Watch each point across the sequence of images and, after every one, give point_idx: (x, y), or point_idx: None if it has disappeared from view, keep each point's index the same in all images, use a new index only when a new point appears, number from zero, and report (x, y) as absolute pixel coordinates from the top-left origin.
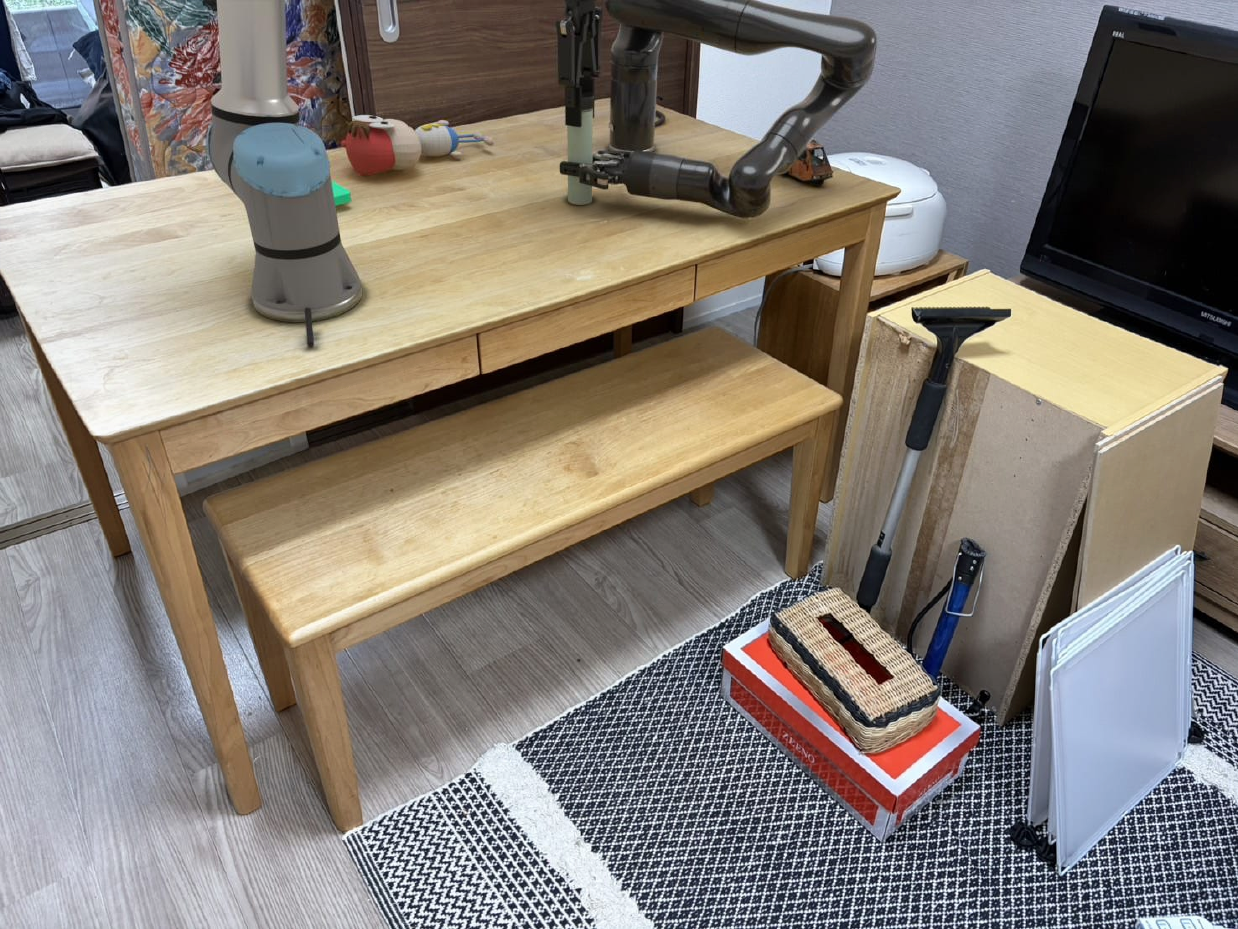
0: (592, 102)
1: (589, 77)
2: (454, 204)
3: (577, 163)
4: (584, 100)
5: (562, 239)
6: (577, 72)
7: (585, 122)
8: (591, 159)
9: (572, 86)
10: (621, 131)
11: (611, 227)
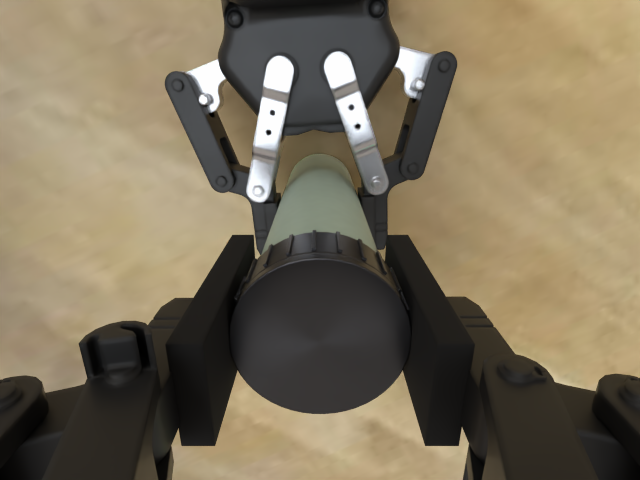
0: (324, 243)
1: (172, 385)
2: None
3: (366, 206)
4: (389, 279)
5: (579, 118)
6: (575, 455)
7: (361, 230)
8: (320, 175)
9: (558, 383)
10: None
11: (465, 25)
